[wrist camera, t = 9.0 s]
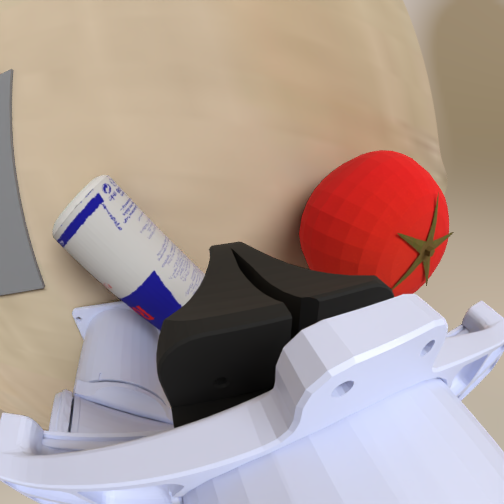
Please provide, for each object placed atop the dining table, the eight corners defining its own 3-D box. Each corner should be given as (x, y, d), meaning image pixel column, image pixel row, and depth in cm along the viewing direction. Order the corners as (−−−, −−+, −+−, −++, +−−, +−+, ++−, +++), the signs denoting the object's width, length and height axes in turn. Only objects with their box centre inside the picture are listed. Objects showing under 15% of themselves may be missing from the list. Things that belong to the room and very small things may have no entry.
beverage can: (56, 213, 12) (228, 360, 19) (115, 157, 15) (250, 299, 23) (42, 240, 15) (182, 356, 22) (87, 191, 19) (205, 305, 26)
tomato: (401, 202, 28) (481, 236, 18) (329, 291, 29) (395, 355, 19) (347, 118, 22) (448, 124, 12) (252, 225, 23) (321, 291, 14)
